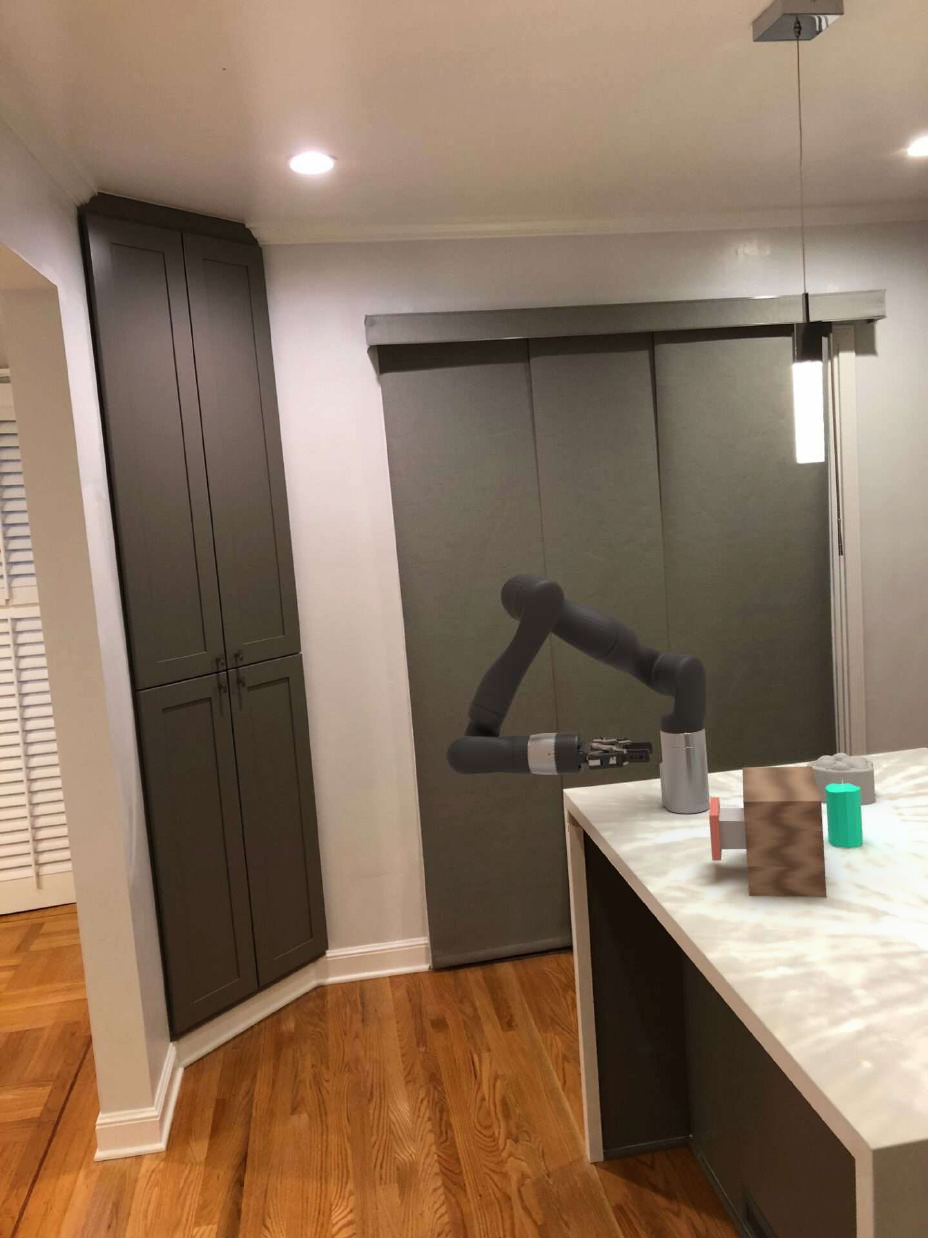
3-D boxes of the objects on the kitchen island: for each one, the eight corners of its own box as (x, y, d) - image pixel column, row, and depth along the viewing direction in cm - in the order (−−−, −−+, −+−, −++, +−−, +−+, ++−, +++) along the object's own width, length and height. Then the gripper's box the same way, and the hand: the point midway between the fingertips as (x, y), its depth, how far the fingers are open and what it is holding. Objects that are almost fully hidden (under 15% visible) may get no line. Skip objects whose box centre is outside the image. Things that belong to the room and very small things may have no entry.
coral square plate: (712, 860, 165) (709, 815, 164) (713, 840, 174) (710, 797, 173) (770, 861, 162) (767, 815, 161) (768, 840, 172) (765, 797, 171)
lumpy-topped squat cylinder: (875, 806, 196) (873, 764, 195) (808, 804, 201) (805, 764, 200) (873, 790, 206) (872, 751, 205) (809, 789, 211) (807, 751, 210)
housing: (749, 895, 159) (743, 801, 157) (747, 851, 178) (742, 767, 176) (826, 897, 156) (821, 801, 154) (816, 852, 175) (811, 766, 173)
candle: (866, 847, 174) (863, 783, 173) (831, 848, 176) (827, 784, 174) (859, 836, 180) (856, 774, 179) (825, 837, 182) (822, 775, 180)
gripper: (547, 743, 168) (646, 741, 163) (561, 724, 181) (653, 721, 177) (550, 785, 169) (649, 784, 164) (564, 763, 182) (656, 761, 178)
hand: (650, 751), depth 170 cm, fingers open, 4 cm apart
